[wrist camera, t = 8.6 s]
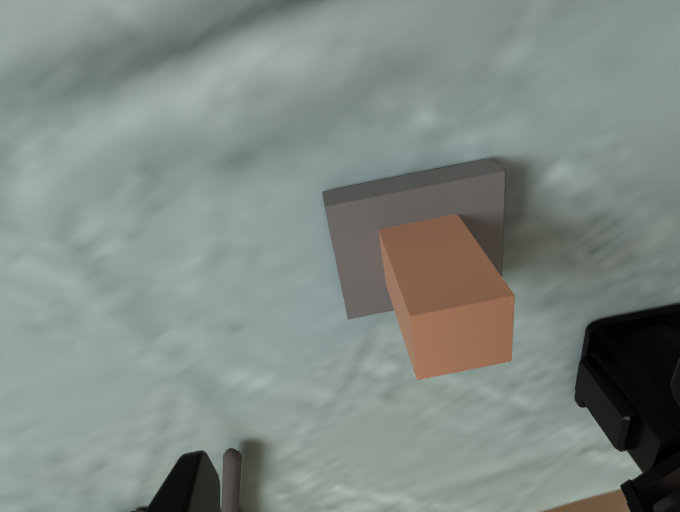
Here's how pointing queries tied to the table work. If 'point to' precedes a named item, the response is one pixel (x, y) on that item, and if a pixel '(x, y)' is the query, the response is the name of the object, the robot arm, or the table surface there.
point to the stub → (429, 262)
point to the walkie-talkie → (229, 481)
